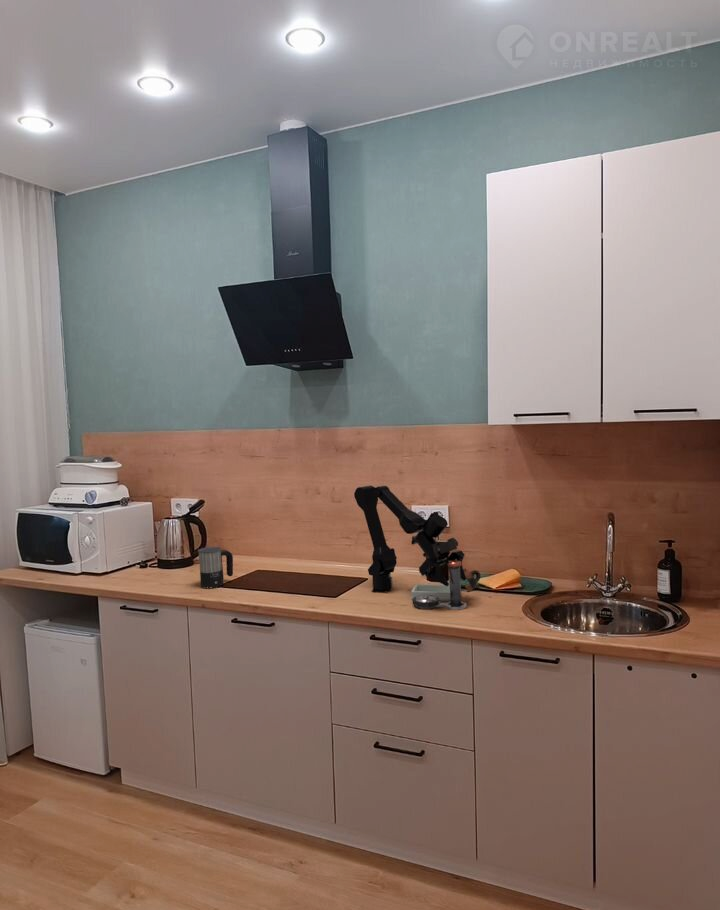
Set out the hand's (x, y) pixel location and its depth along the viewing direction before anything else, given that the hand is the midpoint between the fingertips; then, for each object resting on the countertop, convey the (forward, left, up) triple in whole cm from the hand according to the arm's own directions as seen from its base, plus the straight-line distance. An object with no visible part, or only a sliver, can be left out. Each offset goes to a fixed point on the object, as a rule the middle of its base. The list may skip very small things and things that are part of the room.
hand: (456, 582), depth 221 cm
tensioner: (-6, 0, -8) cm, 10 cm away
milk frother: (-101, +22, -9) cm, 104 cm away
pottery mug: (+1, +24, -9) cm, 26 cm away
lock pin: (-1, 0, -8) cm, 8 cm away
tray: (-9, +11, -8) cm, 17 cm away
